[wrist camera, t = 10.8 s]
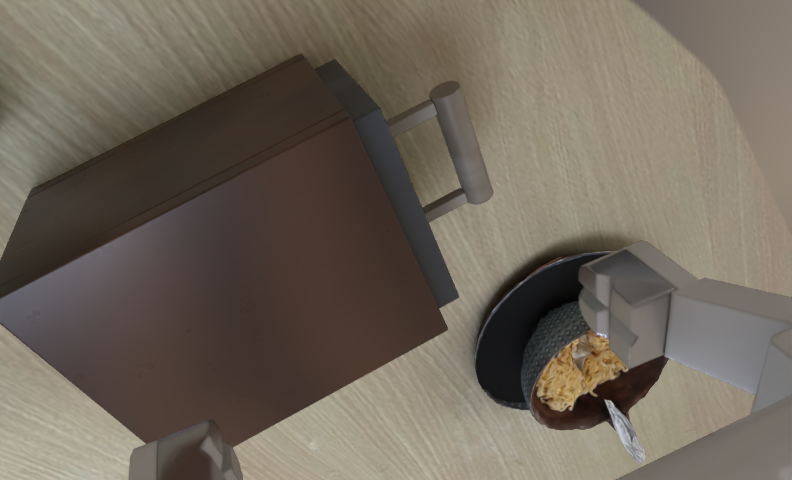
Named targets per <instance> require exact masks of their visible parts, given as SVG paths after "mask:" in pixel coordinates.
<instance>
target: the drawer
mask: <svg viewBox="0 0 792 480" xmlns="http://www.w3.org/2000/svg"><path fill="white" fill-rule="evenodd" d="M314 70H315V71H316V73H317V74H318V75H319V76H320V78H321V79H322V80H323V82H324V83H325V84H326V86H327V87H328V88H329V89H330V91H331V92H332V93H333V95H334V96H335V97H336V99H337V100H338V101H339V103H340V104H341V105H342V106H343V108H344V109H345V111H346V112H347V113H348V115H349V116H350V117H351V119H352V121H353V123H354V126H355V128H356V130H357V132H358V134H359V136H360V139H361V141H362V143H363V145H364V147H365V149H366V152H367V154H368V156H369V158H370V160H371V162H372V165H373V167H374V169H375V171H376V173H377V175H378V178H379V180H380V182H381V184H382V186H383V188H384V191H385V193H386V195H387V197H388V199H389V201H390V204H391V206H392V208H393V210H394V212H395V214H396V217H397V219H398V221H399V223H400V225H401V228H402V230H403V232H404V234H405V236H406V238H407V241H408V243H409V245H410V247H411V249H412V251H413V254H414V256H415V258H416V260H417V262H418V264H419V267H420V269H421V271H422V273H423V275H424V277H425V280H426V282H427V284H428V286H429V288H430V290H431V293H432V295H433V297H434V299H435V301H436V303H437V306H438V308H441V307H443V306H444V305H446V304H448V303H450V302H452V301H454V300H455V299H457V298H459V295H458V292H457V290H456V287H455V285H454V283H453V280H452V278H451V276H450V273H449V271H448V268H447V266H446V264H445V261H444V259H443V256H442V254H441V252H440V249H439V247H438V245H437V242H436V240H435V237H434V235H433V233H432V230H431V228H430V225H429V222H431V221H433V220H435V219H436V218H438V217H440V216H442V215H444V214H446V213H448V212H450V211H451V210H453V209H455V208H457V207H459V206H461V205H463V204H465V203H466V202H468V203H470V204H481V203H484V202H486V201H488V200H489V199H490V198H491V197H492V195H493V189H492V186H491V183H490V180H489V176H488V173H487V170H486V167H485V163H484V160H483V157H482V154H481V151H480V147H479V144H478V141H477V138H476V135H475V131H474V128H473V125H472V122H471V118H470V115H469V112H468V109H467V106H466V102H465V99H464V96H463V93H462V90H461V86H460V84H459V83H458V82H455V81H449V82H445V83H442V84H439V85H437V86H436V87H434V88H433V89H432V90H431V91H430V93H429V97H430V100H431V101H430V100H426V101H424V102H422V103H421V104H419V105H417V106H415V107H413V108H411V109H409V110H407V111H405V112H403V113H401V114H399V115H397V116H395V117H394V118H392V119H390V120H388V121H386V120H385V118H384V116H383V113H382V111H381V108H380V107H379V106H378V105H377V104H376V103H375V102H374V101H373V100H372V99H371V98H370V96H369V95H368V94H367V93H366V92H365V91H364V90H363V89H362V88H361V87H360V86H359V85H358V83H357V82H356V81H355V80H354V79H353V78H352V77H351V76H350V75H349V74H348V73H347V72H346V70H345V69H344V68H343V67H342V66H341V65H340V64H339V63H338V62H337V61H336V60H332V61H330V62H328V63H326V64H324V65H322V66H320V67H318V68H316V69H314ZM434 116H436V117H437V119H438V122H439V125H440V128H441V131H442V134H443V136H444V139H445V142H446V145H447V148H448V151H449V153H450V156H451V159H452V162H453V165H454V168H455V170H456V173H457V176H458V179H459V182H460V185H461V187H462V189H461V188H459V189H457V190H455V191H453V192H451V193H449V194H447V195H445V196H444V197H442V198H440V199H438V200H436V201H434V202H432V203H430V204H428V205H427V206H425V207H423V208H422V206H421V204H420V202H419V199H418V197H417V194H416V192H415V190H414V187H413V185H412V182H411V180H410V178H409V175H408V173H407V171H406V168H405V166H404V163H403V161H402V159H401V156H400V154H399V151H398V149H397V147H396V144H395V142H394V139H393V138H394V137H395V136H397V135H399V134H401V133H403V132H405V131H407V130H409V129H411V128H413V127H415V126H417V125H419V124H420V123H422V122H424V121H426V120H428V119H430V118H432V117H434Z"/></svg>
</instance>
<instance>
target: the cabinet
mask: <svg viewBox="0 0 792 480" xmlns="http://www.w3.org/2000/svg"><path fill="white" fill-rule="evenodd" d="M0 324H1V325H2V326H4V327H5V328H6V329H7V330H8V331H10V332H11V333H12V334H13V335H14V336H16V337H17V338H18V339H19V340H21V341H22V342H23V343H24V344H25V345H27V346H28V347H29V348H30V349H32V350H33V351H34V352H35V353H36V354H38V355H39V356H40V357H41V358H42V359H44V360H45V361H46V362H47V363H49V364H50V365H51V366H52V367H53V368H55V369H56V370H57V371H58V372H59V373H61V374H62V375H63V376H64V377H66V378H67V379H68V380H69V381H70V382H72V383H73V384H74V385H75V386H76V387H78V388H79V389H80V390H81V391H83V392H84V393H85V394H86V395H87V396H89V397H90V398H91V399H92V400H94V401H95V402H96V403H97V404H98V405H100V406H101V407H102V408H103V409H104V410H106V411H107V412H108V413H109V414H111V415H112V416H113V417H114V418H115V419H117V420H118V421H119V422H120V423H121V424H123V425H124V426H125V427H126V428H128V429H129V430H130V431H131V432H132V433H134V434H135V435H136V436H137V437H139V438H140V439H141V440H142V441H143V442H145V443H146V444H148V443H151V442H153V441H156V440H158V439H160V438H162V437H165V436H167V435H170V434H173V433H175V432H178V431H180V430H183V429H186V428H188V427H191V426H193V425H196V424H199V423H201V422H204V421H206V420H209V419H213V420H214V421H215V422H216V424H217V425H218V427H219V428H220V431H221V439H222V441H225V442H229V443H230V445H231V447H232V448H233V447H234V446H236V445H238V444H240V443H242V442H244V441H245V440H247V439H249V438H251V437H253V436H255V435H256V434H258V433H260V432H262V431H264V430H266V429H267V428H269V427H271V426H273V425H275V424H277V423H278V422H280V421H282V420H284V419H286V418H288V417H289V416H291V415H293V414H295V413H297V412H299V411H300V410H302V409H304V408H306V407H308V406H310V405H311V404H313V403H315V402H317V401H319V400H321V399H322V398H324V397H326V396H328V395H330V394H332V393H333V392H335V391H337V390H339V389H341V388H343V387H344V386H346V385H348V384H350V383H352V382H354V381H355V380H357V379H359V378H361V377H363V376H365V375H366V374H368V373H370V372H372V371H374V370H376V369H377V368H379V367H381V366H383V365H385V364H387V363H388V362H390V361H392V360H394V359H396V358H398V357H399V356H401V355H403V354H405V353H407V352H409V351H410V350H412V349H414V348H416V347H418V346H420V345H421V344H423V343H425V342H427V341H429V340H431V339H432V338H434V337H436V336H438V335H440V334H442V333H443V332H445V331H447V330H448V327H447V325H446V323H445V321H444V319H443V316H442V314H441V312H440V310H439V308H438V306H437V303H436V301H435V299H434V297H433V295H432V293H431V290H430V288H429V286H428V284H427V282H426V280H425V277H424V275H423V273H422V271H421V269H420V267H419V264H418V262H417V260H416V258H415V256H414V254H413V251H412V249H411V247H410V245H409V243H408V241H407V238H406V236H405V234H404V232H403V230H402V228H401V225H400V223H399V221H398V219H397V217H396V214H395V212H394V210H393V208H392V206H391V204H390V201H389V199H388V197H387V195H386V193H385V191H384V188H383V186H382V184H381V182H380V180H379V178H378V175H377V173H376V171H375V169H374V167H373V165H372V162H371V160H370V158H369V156H368V154H367V152H366V149H365V147H364V145H363V143H362V141H361V139H360V136H359V134H358V132H357V130H356V128H355V126H354V123H353V121H352V119H351V117H350V116H349V115H348V113H347V112H346V111H345V109H344V108H343V106H342V105H341V104H340V103H339V101H338V100H337V99H336V97H335V96H334V95H333V93H332V92H331V91H330V89H329V88H328V87H327V86H326V84H325V83H324V82H323V80H322V79H321V78H320V76H319V75H318V74H317V73H316V71H315V70H314V69H313V67H312V66H311V65H310V63H309V62H308V61H307V59H306V58H305V57H304V56H303V55H302V54H300V55H298V56H296V57H294V58H292V59H290V60H288V61H286V62H284V63H282V64H280V65H278V66H276V67H274V68H272V69H270V70H268V71H266V72H264V73H262V74H260V75H258V76H256V77H254V78H252V79H251V80H249V81H247V82H245V83H243V84H241V85H239V86H237V87H235V88H233V89H231V90H229V91H227V92H225V93H223V94H221V95H219V96H217V97H215V98H213V99H211V100H209V101H207V102H205V103H203V104H201V105H199V106H197V107H195V108H193V109H191V110H189V111H187V112H185V113H183V114H181V115H179V116H177V117H175V118H173V119H171V120H169V121H167V122H165V123H163V124H161V125H159V126H157V127H155V128H154V129H152V130H150V131H148V132H146V133H144V134H142V135H140V136H138V137H136V138H134V139H132V140H130V141H128V142H126V143H124V144H122V145H120V146H118V147H116V148H114V149H112V150H110V151H108V152H106V153H104V154H102V155H100V156H98V157H96V158H94V159H92V160H90V161H88V162H86V163H84V164H82V165H80V166H78V167H76V168H74V169H72V170H70V171H68V172H66V173H64V174H62V175H60V176H58V177H57V178H55V179H53V180H51V181H49V182H47V183H45V184H43V185H41V186H39V187H37V188H35V189H33V190H31V191H30V193H29V195H28V198H27V199H26V201H25V204H24V206H23V208H22V211H21V213H20V215H19V218H18V220H17V222H16V225H15V227H14V229H13V232H12V234H11V236H10V239H9V241H8V243H7V246H6V248H5V250H4V253H3V255H2V257H1V260H0Z"/></svg>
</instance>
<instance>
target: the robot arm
mask: <svg viewBox="0 0 792 480" xmlns="http://www.w3.org/2000/svg"><path fill="white" fill-rule="evenodd" d="M578 281H579V282H580V283H581V284H582V285H583V286H584V287H583V289H582V290H581V292H580V294H579V308H580V310H581V313H582V316H583V318H584V320H585V321H586V323H587V324H588V326H589V327H590V328H591V329H592V330H593V332H594V333H595V334H596V335H599V336H602V337H605V338H609V349H610V350H611V351H612V352H613V353H614V354H615V355H616V356H617V357H618V358H619V359H620V360H621V361H622V362H623V363H624V364H625V365H626V366H627V367H628V368H629V369H631V368H633V367H636V366H638V365H640V364H643V363H645V362H648V361H650V360H652V359H655V358H657V357H660V356H662V355H664V354H665V357H667V358H669V359H672V360H674V361H676V362H679V363H681V364H683V365H686V366H688V367H690V368H693V369H695V370H697V371H700V372H702V373H705V374H707V375H709V376H712V377H714V378H716V379H719V380H721V381H723V382H726V383H728V384H730V385H733V386H735V387H737V388H740V389H742V390H745V391H747V392H749V393H752V394H754V395H755V398H754V402H753V406H752V409H751V413H750V415H748V416H746V417H744V418H742V419H740V420H738V421H736V422H734V423H732V424H730V425H728V426H726V427H724V428H721V429H719V430H717V431H715V432H713V433H711V434H709V435H707V436H705V437H703V438H701V439H699V440H697V441H695V442H693V443H690V444H688V445H686V446H684V447H682V448H680V449H678V450H676V451H674V452H672V453H670V454H668V455H666V456H664V457H662V458H659V459H657V460H655V461H653V462H651V463H649V464H647V465H645V466H643V467H641V468H639V469H637V470H635V471H633V472H631V473H628V474H626V475H624V476H622V477H620V478H618V479H616V480H792V297H787V296H783V295H779V294H774V293H770V292H765V291H761V290H757V289H752V288H748V287H744V286H739V285H735V284H730V283H726V282H722V281H717V280H713V279H708V278H703V279H701V280H698V279H697V278H696V277H694V276H693V275H692V274H690V273H689V272H688V271H686V270H685V269H683V268H682V267H681V266H679V265H678V264H677V263H675V262H674V261H673V260H671V259H670V258H669V257H667V256H666V255H664V254H663V253H662V252H660V251H659V250H658V249H656V248H655V247H654V246H652V245H651V244H650V243H648V242H646V241H642V240H641V241H639V242H636V243H634V244H632V245H629V246H627V247H624V248H622V249H621V250H617V251H615V252H612V253H610V254H608V255H605V256H603V257H601V258H598V259H596V260H594V261H591V262H589V263H587V264H584V265H582V266H580V269H579V271H578ZM129 480H243V475H242V471H241V468H240V464H239V461H238V458H237V456H236V454H235V452H234V450H233V448H232V447H231V445H230V443H229V442H225V441H222V439H221V431H220V428H219V427H218V425H217V424H216V422H215V421H214V420H213V419H209V420H206V421H204V422H201V423H199V424H196V425H193V426H191V427H188V428H186V429H183V430H180V431H178V432H175V433H173V434H170V435H167V436H165V437H162V438H160V439H158V440H156V441H153V442H151V443H148V444H145V445H143V446H140V447H138V448H135V449H134V450H133V452H132V454H131V457H130V466H129Z"/></svg>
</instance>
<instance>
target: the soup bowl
mask: <svg viewBox="0 0 792 480" xmlns="http://www.w3.org/2000/svg"><path fill="white" fill-rule="evenodd" d="M612 252H615V251H612ZM612 252H609V251H599V252H591V253H585V254H577V255H566V256H562V257H558V258H556V259H555V260H553V261H550V262H549V263H547V264H545V265H543V266H541V267H539V268H538V269H537V270H535V271H534V272H533V273H532V274H530V275H528V276H527V277H526V278H525V279H523V280H522V281H521V282H518V283H516V284H515V285H514V286H513V287H512V288H511V289H510V290H509V291H507V292H506V293H505V294H504V295H503V296H502V297H501V299H500V300H499V301H498V302H497V303H496V304H495V306H494V307H493V308H492V310H491V311H490V313H489V314H488V316H487V317H486V318H485V321H484V322H483V324H482V325H481V328H480V332H479V334H478V335H479V338H478V344H477V349H476V352H475V359H474V360H475V369H476V374H477V377H478V382H479V384H480V385H481V387H482V389H483V390H484V391H485V392H486V393H487V395H489V397H490V398H491V399H493V400H494V401H495V402H496V403H497V404H500V405H502V406H505V407H509V408H512V409H519V410H530V412H531V414H532V416H533V417H534V418H535V419H536V421H538V422H539V423H540V424H543V425H545V426H547V427H548V428H551V429H556V430H573V429H581V430H584V429H589V428H592V427H594V426H596V425H598V424H601V423H603V422H605V421H606V422H608V423H609V424H610V425H611V426H612V427H613V428H614V429H615V430H616V432H617V434H618V435H619V437H620V438H621V440H622V442H623V445H624V446H625V447H626V449H627V451H628V453H629V455H630V456H631V457H633V458H634V460H635V461H636V462H639V463H640V464H641V463H642V462H643V461H644V460H645V459H646V456H645V451H644V449H643V447H642V446H641V444H640V441H639V440H638V438H637V435H636V433H635V431H634V428H633V426H632V424H631V422H630V420H629V414H628V412H629V409H630V408H631V407H632V406H634V405H635V404H636V403H637V402H638V401H639V400H640V399H642V398H644V397H645V396H646V394H647V393H648V391H649V389H650V388H651V387H652V386H653V385H654V384H655V382H656V381H657V380H658V379H659V376H660V374H661V372H662V369H663V368H664V366H665V364H666V363H667V361H668V360H669V358H667V357H665V354H664V355H662V356H660V357H657V358H655V359H652V360H650V361H648V362H645V363H643V364H640V365H638V366H636V367H633V368H631V369H629V368H628V367H627V366H626V365H625V364H624V363H623V362H622V361H621V360H620V359H619V358H618V357H617V356H616V355H615V354H614V353H613V352H612V351H611V350H610V349H609V338H605V337H602V336H599V335H596V334H595V333H594V332H593V330H592V329H591V328H590V327H589V326H588V324H587V323H586V321H585V320H584V318H583V316H582V313H581V310H580V308H579V294H580V292H581V290H582V289H583V287H584V286H583V285H582V284H581V283H580V282H579V281H578V271H579V269H580V266H582V265H584V264H587V263H589V262H591V261H594V260H596V259H598V258H601V257H603V256H605V255H608V254H610V253H612Z"/></svg>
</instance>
